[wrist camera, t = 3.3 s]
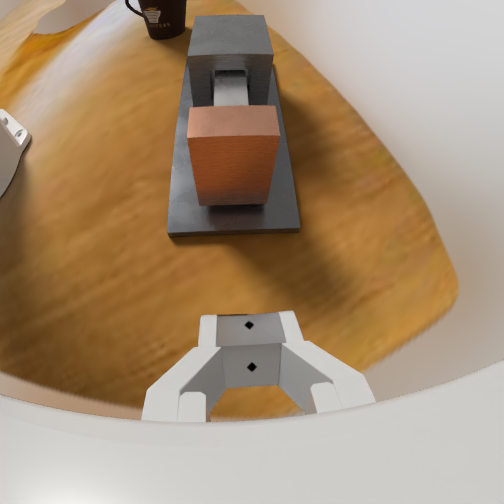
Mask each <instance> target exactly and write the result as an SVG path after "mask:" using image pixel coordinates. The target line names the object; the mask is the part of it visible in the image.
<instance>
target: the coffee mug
mask: <svg viewBox="0 0 504 504" xmlns="http://www.w3.org/2000/svg"><path fill="white" fill-rule="evenodd" d="M186 1H187V0H138V2H139V5H140V8H141V11H142V13H140V12H139V11H137V10H135V9H134V8H133V7H131V6H130V4H129V0H125V4H126V6H127V7H128V8H129V9H130V10H131V11H133V12H134V13H136V14H138V15H139V16H141V17H143V18H144V20H145V23H146V26H147V29H148V32H149V35H150V37H151V38H152V39H157V40H163V39H169V38H173V37H176V36H178V35H180V34H182V33H183V32H184V30H185V16H186Z"/></svg>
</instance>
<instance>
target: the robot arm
mask: <svg viewBox="0 0 504 504" xmlns="http://www.w3.org/2000/svg"><path fill="white" fill-rule="evenodd" d="M30 139H31V134H30V133H29V132H28V131H27V130H26V129H25V128H24V127H23V126H21V125H20V124H19V123H18V122H17V121H16V120H15V119H14V118H13V117H12V116H10V115H9V114H8V113H7V112H6V111H5V110H4V109H1V110H0V197H1V196H2V194H3V193H4V191H5V190H6V188H7V186H8V185H9V183H10V181H11V179H12V177H13V175H14V173H15V171H16V168H17V165H18V162H19V159H20V156H21V154H22V152H23V150H24V149H25V147H26V146H27V144H28V142H29V141H30ZM270 385H279V387H280V388H281V389H282V390H283V391H284V392H285V393H286V394H287V395H288V396H289V397H290V398H291V399H292V400H293V401H294V402H295V403H296V404H297V405H298V406H299V407H300V408H301V409H302V410H303V411H304V412H305V415H301V416H293V417H285V418H275V419H264V420H250V421H232V422H211V420H210V415H209V413H210V412H211V410H212V409H213V408H214V406H215V405H216V403H217V402H218V400H219V399H220V397H221V396H222V395H223V393H224V392H225V390H226V388H238V387H251V386H270ZM0 504H504V359H503V360H500V361H498V362H496V363H494V364H491V365H489V366H487V367H484V368H482V369H479V370H477V371H474V372H472V373H469V374H467V375H464V376H461V377H459V378H456V379H453V380H450V381H447V382H444V383H442V384H438V385H435V386H432V387H429V388H426V389H423V390H419V391H416V392H413V393H409V394H406V395H402V396H398V397H395V398H391V399H387V400H383V401H379V402H376V400H375V398H374V396H373V394H372V392H371V390H370V388H369V386H368V383H367V381H366V379H365V377H364V375H362V374H361V373H359V372H357V371H356V370H354V369H353V368H351V367H349V366H348V365H346V364H345V363H343V362H341V361H340V360H338V359H337V358H335V357H333V356H332V355H330V354H329V353H327V352H326V351H324V350H322V349H321V348H319V347H318V346H316V345H315V344H313V343H312V342H310V341H304V338H303V335H302V333H301V330H300V327H299V324H298V321H297V318H296V315H295V313H294V311H282V312H275V313H261V314H231V315H202V316H201V319H200V330H199V341H198V347H194V348H192V349H191V350H190V351H189V352H188V353H187V354H186V355H185V356H184V357H183V358H182V359H180V360H179V361H178V362H177V363H176V364H175V365H174V366H173V367H172V368H171V369H170V370H168V371H167V372H166V373H165V374H164V375H163V376H162V377H161V378H160V379H158V380H157V381H156V382H155V383H154V384H153V385H152V386H151V387H150V388H148V389H147V393H146V397H145V402H144V407H143V412H142V417H141V420H134V419H125V418H115V417H107V416H99V415H92V414H85V413H79V412H73V411H68V410H63V409H58V408H52V407H48V406H44V405H39V404H35V403H31V402H27V401H23V400H19V399H16V398H12V397H9V396H5V395H2V394H0Z"/></svg>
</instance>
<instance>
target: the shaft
mask: <svg viewBox="0 0 504 504" xmlns="http://www.w3.org/2000/svg"><path fill="white" fill-rule="evenodd" d="M279 140H280V131H279V125H278V119H277V113H276V107H275V106H266V105H248V93H247V82H246V71H245V70H215V86H214V106H208V107H191V108H190V109H189V119H188V130H187V142H188V148H189V154H190V159H191V165H192V170H193V176H194V181H195V186H196V192H197V197H198V202H199V206H211V205H238V204H267V201H268V196H269V191H270V186H271V181H272V176H273V170H274V165H275V160H276V155H277V150H278V145H279Z"/></svg>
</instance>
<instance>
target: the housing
mask: <svg viewBox="0 0 504 504" xmlns="http://www.w3.org/2000/svg"><path fill="white" fill-rule="evenodd" d="M273 56H274V54H273V49H272V45H271V41H270V37H269V33H268V29H267V25H266V22H265V18H264V15H212V16H195V21H194V25H193V30H192V35H191V40H190V45H189V50H188V55H187V57H188V58H187V62H186V68H185V73H184V79H183V85H182V92H181V98H180V105H179V112H178V120H177V128H176V136H175V144H174V153H173V163H172V173H171V184H170V197H169V211H168V227H167V233H168V236H169V237H186V236H210V235H235V234H264V233H297V232H299V230H300V221H299V214H298V207H297V200H296V194H295V187H294V181H293V175H292V168H291V162H290V156H289V151H288V145H287V139H286V133H285V128H284V122H283V117H282V112H281V107H280V101H279V96H278V91H277V86H276V81H275V77H274V72H273V67H272V63H273ZM215 70H245V71H246V82H247V93H248V105H266V106H275V107H276V113H277V119H278V125H279V131H280V140H279V145H278V150H277V155H276V160H275V165H274V170H273V176H272V181H271V186H270V191H269V196H268V201H267V204H238V205H211V206H199V202H198V197H197V192H196V186H195V181H194V176H193V170H192V165H191V159H190V154H189V148H188V142H187V130H188V119H189V109H190V108H191V107H208V106H214V86H215Z"/></svg>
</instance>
